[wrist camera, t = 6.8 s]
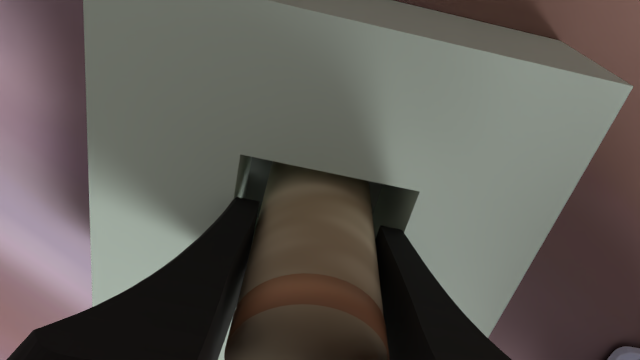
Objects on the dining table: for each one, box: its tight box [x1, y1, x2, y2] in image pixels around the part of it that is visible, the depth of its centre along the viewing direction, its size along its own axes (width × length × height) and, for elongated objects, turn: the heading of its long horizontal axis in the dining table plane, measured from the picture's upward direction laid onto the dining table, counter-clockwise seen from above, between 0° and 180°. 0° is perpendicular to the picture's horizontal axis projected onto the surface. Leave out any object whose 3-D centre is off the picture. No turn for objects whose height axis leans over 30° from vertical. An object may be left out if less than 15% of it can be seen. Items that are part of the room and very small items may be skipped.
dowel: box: [224, 161, 389, 360], centre depth 13 cm, size 3×3×8 cm
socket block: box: [83, 0, 633, 360], centre depth 15 cm, size 12×12×4 cm
